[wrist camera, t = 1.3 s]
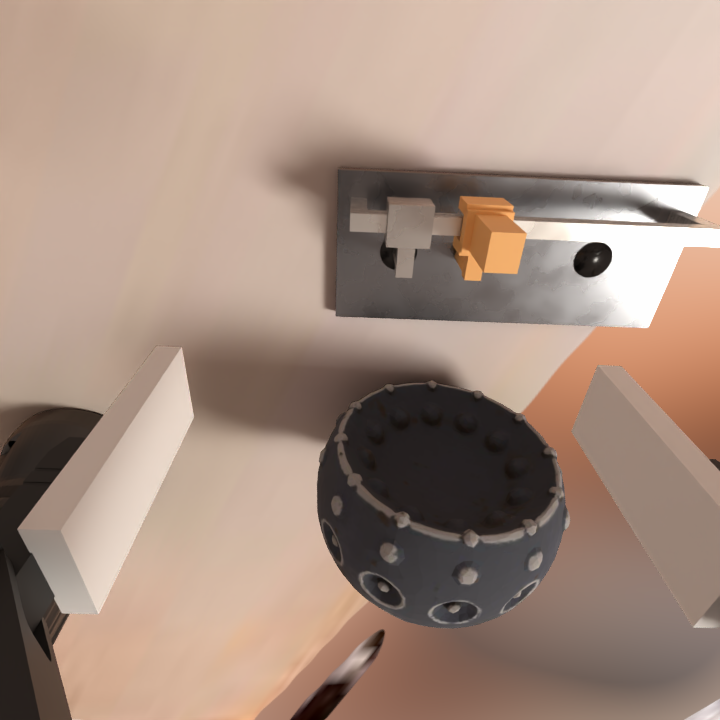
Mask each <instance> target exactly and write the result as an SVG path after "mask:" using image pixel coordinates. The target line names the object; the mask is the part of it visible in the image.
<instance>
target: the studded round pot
mask: <svg viewBox="0 0 720 720" xmlns="http://www.w3.org/2000/svg"><path fill="white" fill-rule="evenodd" d="M319 462H320V466H319V471H318V481H317V509H318V517H319V522H320V526H321V531H322V533H323V536H324V539H325V542H326V545H327V548H328V549H329V551H330V553H331V555H332V557H333V559H334V561H335V563H336V564H337V566H338V568H339V569H340V571H341V572H342V574H343V575H344V576H345V577H346V579H347V580H348V581H349V582H350V583H351V585H352V586H353V587H354V588H355V589H356V590H357V591H358V592H359V593H360V594H361V595H362V596H364V597H365V598H366V599H367V600H369V601H370V602H372V603H373V604H375V605H376V606H378V607H379V608H381V609H382V610H384V611H386V612H388V613H390V614H391V615H393V616H395V617H397V618H399V619H401V620H404V621H406V622H410V623H414V624H418V625H423V626H428V627H436V628H461V627H469V626H473V625H478V624H481V623H484V622H486V621H489V620H492V619H495V618H497V617H499V616H501V615H503V614H504V613H506V612H508V611H510V610H511V609H512V608H514V607H515V606H517V605H518V604H519V603H520V602H522V601H523V600H524V599H525V598H526V597H527V596H529V595H530V594H531V593H532V592H533V591H534V589H535V588H536V587H537V586H538V585H539V584H540V582H541V581H542V579H543V578H544V576H545V575H546V573H547V572H548V570H549V568H550V566H551V564H552V563H553V561H554V559H555V556H556V554H557V550H558V548H559V545H560V542H561V538H562V534H563V531H564V530H565V529H566V528H567V527H568V526H569V523H570V516H569V513H568V510H567V508H566V506H565V493H564V484H563V479H562V471H561V469H560V467H559V465H558V462H557V453H556V451H555V450H554V449H553V448H551V447H549V446H548V444H547V443H546V441H545V440H544V438H543V437H542V436H541V435H540V434H539V433H538V432H537V431H536V430H535V429H534V428H533V427H532V426H531V425H530V424H529V423H528V422H527V421H526V418H525V416H524V415H523V414H521V413H515V412H514V411H512V410H510V409H509V408H507V407H506V406H504V405H502V404H501V403H498V402H496V401H494V400H492V399H490V398H488V397H486V396H484V395H483V393H482V392H481V391H469V390H466V389H462V388H458V387H453V386H449V385H443V384H438V383H436V382H435V381H433V380H432V381H428V382H426V383H407V384H399V385H392V384H387V385H385V386H384V387H383V388H382V389H379V390H377V391H375V392H372V393H370V394H368V395H367V396H365V397H364V398H362V399H361V400H359V401H358V402H352V403H351V404H350V406H349V409H348V411H347V412H345V413H343V414H341V415H340V416H339V417H338V419H337V421H336V427H335V429H334V430H333V432H332V434H331V436H330V438H329V440H328V442H327V444H326V447H325V448H324V449H323V450H322V451H321V454H320V458H319Z"/></svg>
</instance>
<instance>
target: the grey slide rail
mask: <svg viewBox="0 0 720 720" xmlns="http://www.w3.org/2000/svg"><path fill="white" fill-rule="evenodd" d="M463 217H464V214H452V213H435V205H434V204H433V202H432V201H431V199H428V198H406V197H387V205H386V211H384V210H368V206H367V198H361V197H351V208H350V231H352V232H375V233H384V239H385V244H386V247H391V248H394V249H393V258H394V262H395V271H394V273H395V277H396V278H412V274H413V265H414V256H415V249H430V245H431V237H432V235H445V236H461V229H462V223H463ZM513 222H514V223H516V224H517V225H518V226H519V227H520V228H521V229H522V230H524V231H525V232H526V233H527V236H526V239H539V240H562V241H586V242H609V243H632V244H656V245H679V246H702V247H703V246H704V247H720V225H717V224H715V223H712V222H710V221H707V220H704V219H702V218H699V217H697V216H694V215H692V214H689V213H687V212H672V211H670V214H669V216H668V219H667V221H666V223H655V222H632V221H610V220H587V219H565V218H542V217H520V216H514V220H513Z"/></svg>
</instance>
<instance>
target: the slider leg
mask: <svg viewBox="0 0 720 720" xmlns="http://www.w3.org/2000/svg"><path fill="white" fill-rule="evenodd" d="M458 208H459V209H460V211H461V212H462V213H463V214H464V217H463V223H462V229H461V236H454V239H453V246H454V248H455V250H456V251H457V252H456V253H455V255H454V258H455V260H456V262H457V263H458V265H459V267H460V269H461V271H462V277H463V279H464V280H471V281H481V277H482V272H484V273H504V274H517V273H518V269H519V265H520V260H521V256H522V252H523V248H524V244H525V240H526V236H527V233H526V232H525V231H524V230H522V229H521V228H520V227H519V226H518V225H517V224H516V223H514V222H513V220H514V216H515V212H514V211H513V208H514V206H513V205H512V204H510V203H509V202H508V201H507V200H505V199H504V198H493V197H471V196H460V200H459V207H458Z"/></svg>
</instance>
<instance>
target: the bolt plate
mask: <svg viewBox="0 0 720 720" xmlns="http://www.w3.org/2000/svg"><path fill="white" fill-rule="evenodd" d="M708 189H709V187H708V186H704V185H701V184H681V183H660V182H639V181H618V180H596V179H575V178H554V177H532V176H511V175H490V174H469V173H447V172H426V171H405V170H383V169H362V168H341V167H339V169H338V215H337V271H336V316H340V317H367V318H394V319H421V320H448V321H474V322H501V323H528V324H555V325H582V326H609V327H636V328H649V325H650V323H651V321H652V318H653V316H654V314H655V311H656V309H657V307H658V304H659V302H660V300H661V297H662V295H663V293H664V291H665V288H666V286H667V284H668V281H669V279H670V277H671V274H672V272H673V270H674V267H675V265H676V263H677V260H678V258H679V256H680V253H681V251H682V249H683V247H684V246H679V245H656V244H632V243H609V242H586V241H562V240H539V239H526V240H525V244H524V248H523V252H522V256H521V260H520V265H519V269H518V273H517V274H504V273H484V272H482V277H481V281H471V280H464V279H463V277H462V271H461V269H460V267H459V265H458V263H457V262H456V260H455V258H454V255H455V253H456V252H457V251H456V250H455V248H454V246H453V239H454V236H445V235H432V237H431V245H430V249H415V256H414V265H413V274H412V278H396V277H395V273H394V271H395V262H394V258H393V249H394V248H391V247H386V244H385V239H384V233H375V232H352V231H350V208H351V197H361V198H367V206H368V210H384V211H386V205H387V197H406V198H428V199H431V201H432V202H433V204H434V205H435V213H452V214H463V213H462V212H461V211H460V209H459V208H458V207H459V200H460V196H471V197H493V198H504V199H505V200H507V201H508V202H509V203H510V204H512V205H513V206H514V208H513V211H514V212H515V216H520V217H542V218H565V219H587V220H610V221H632V222H655V223H666V221H667V219H668V216H669V214H670V211H672V212H687V213H689V214H692V215H694V216H697V214H698V212H699V210H700V207H701V205H702V203H703V200H704V198H705V196H706V193H707V191H708Z"/></svg>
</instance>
